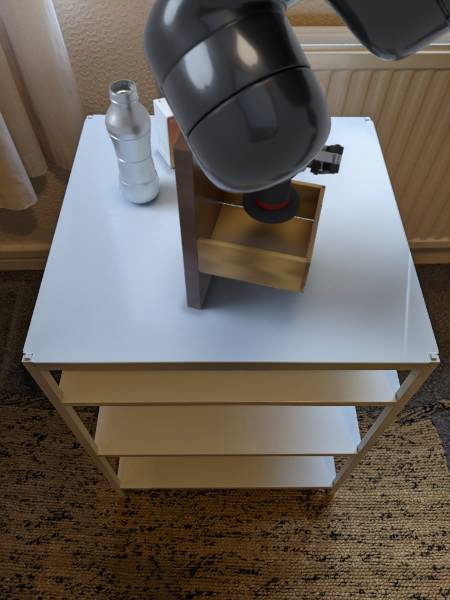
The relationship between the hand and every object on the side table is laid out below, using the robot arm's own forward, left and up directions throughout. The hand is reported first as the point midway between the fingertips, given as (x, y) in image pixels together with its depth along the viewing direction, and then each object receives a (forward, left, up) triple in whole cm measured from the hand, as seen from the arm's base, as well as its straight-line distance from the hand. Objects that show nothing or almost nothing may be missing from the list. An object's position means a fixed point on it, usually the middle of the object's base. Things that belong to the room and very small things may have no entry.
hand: (278, 159), depth 58 cm
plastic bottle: (+23, -11, -22) cm, 34 cm away
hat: (0, +2, -5) cm, 5 cm away
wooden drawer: (+2, +2, -22) cm, 22 cm away
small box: (+19, -23, -22) cm, 38 cm away
